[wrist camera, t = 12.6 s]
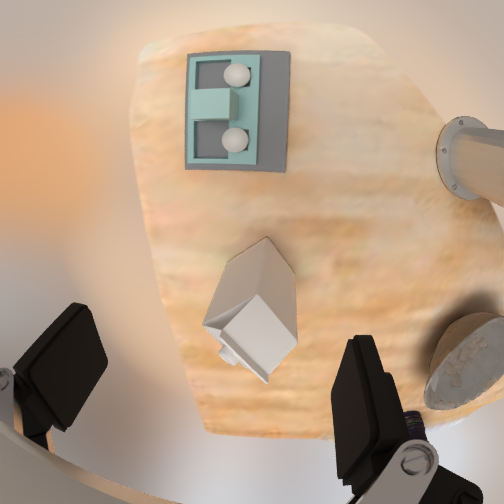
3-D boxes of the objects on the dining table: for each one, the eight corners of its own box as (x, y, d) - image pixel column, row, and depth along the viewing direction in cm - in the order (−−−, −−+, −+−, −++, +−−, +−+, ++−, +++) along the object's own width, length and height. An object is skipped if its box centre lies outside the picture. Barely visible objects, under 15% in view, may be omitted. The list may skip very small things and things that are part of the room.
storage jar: (380, 422, 56) (389, 471, 42) (415, 405, 53) (430, 454, 39) (392, 434, 59) (401, 478, 45) (424, 418, 55) (437, 462, 42)
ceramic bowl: (501, 270, 37) (530, 298, 28) (490, 352, 45) (508, 380, 36) (405, 314, 43) (425, 354, 34) (410, 389, 50) (422, 424, 41)
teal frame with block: (260, 57, 29) (255, 40, 22) (256, 163, 35) (250, 171, 28) (193, 60, 30) (172, 45, 23) (190, 162, 36) (170, 170, 29)
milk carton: (267, 235, 40) (253, 320, 22) (295, 273, 42) (299, 370, 24) (227, 261, 42) (190, 351, 25) (255, 296, 44) (238, 394, 27)
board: (289, 53, 29) (290, 45, 26) (285, 171, 36) (285, 176, 32) (189, 55, 30) (180, 48, 27) (187, 168, 37) (177, 172, 33)
